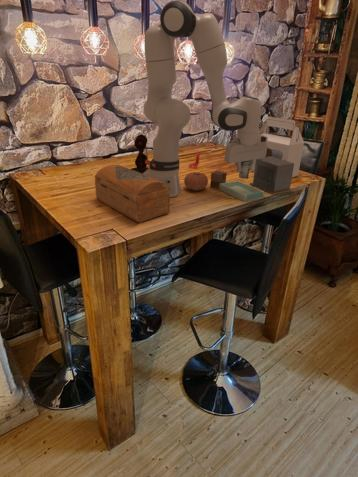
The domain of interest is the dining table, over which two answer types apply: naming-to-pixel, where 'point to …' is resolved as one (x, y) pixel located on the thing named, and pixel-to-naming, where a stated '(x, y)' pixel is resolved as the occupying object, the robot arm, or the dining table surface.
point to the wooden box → (132, 193)
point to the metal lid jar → (244, 169)
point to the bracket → (196, 161)
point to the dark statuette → (141, 154)
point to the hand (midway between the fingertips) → (244, 170)
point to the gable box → (283, 141)
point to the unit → (273, 175)
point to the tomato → (196, 181)
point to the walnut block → (217, 179)
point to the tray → (241, 191)
